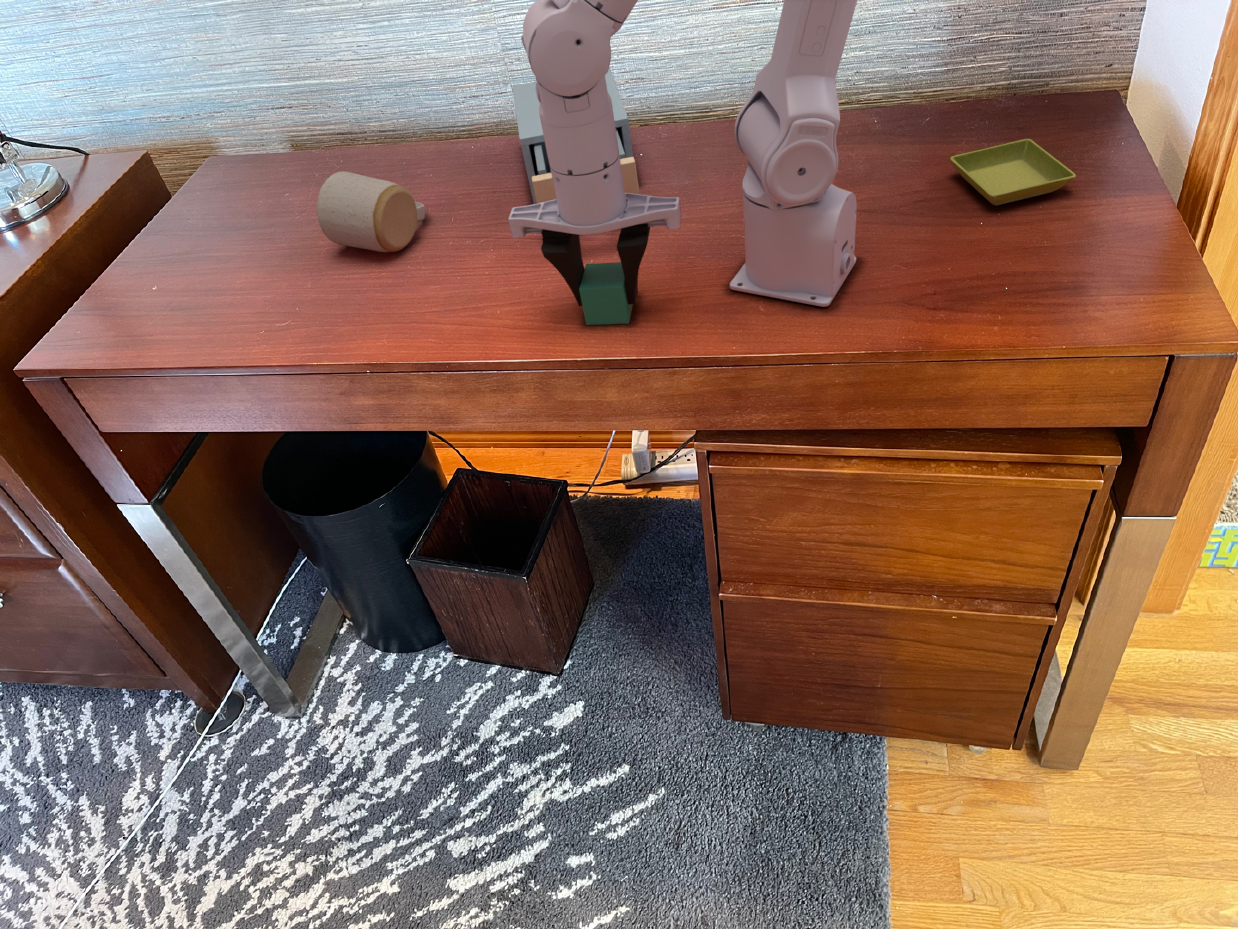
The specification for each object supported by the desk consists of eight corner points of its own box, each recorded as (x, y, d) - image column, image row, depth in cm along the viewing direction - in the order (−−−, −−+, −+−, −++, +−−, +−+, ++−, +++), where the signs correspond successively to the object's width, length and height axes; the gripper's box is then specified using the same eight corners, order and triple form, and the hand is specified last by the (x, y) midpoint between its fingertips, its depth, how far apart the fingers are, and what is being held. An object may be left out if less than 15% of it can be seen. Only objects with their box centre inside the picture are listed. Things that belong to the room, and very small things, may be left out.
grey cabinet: (636, 184, 99) (628, 117, 94) (534, 204, 99) (519, 139, 94) (618, 129, 110) (609, 66, 104) (525, 147, 110) (512, 85, 104)
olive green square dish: (1074, 195, 86) (1078, 175, 85) (988, 215, 86) (991, 195, 84) (1025, 156, 92) (1029, 137, 91) (945, 175, 92) (947, 156, 90)
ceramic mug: (390, 267, 94) (367, 199, 88) (330, 257, 97) (304, 191, 92) (446, 217, 100) (427, 151, 95) (388, 209, 103) (366, 145, 98)
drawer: (649, 235, 90) (642, 182, 86) (547, 255, 90) (535, 203, 86) (623, 156, 103) (616, 106, 98) (534, 174, 102) (523, 125, 98)
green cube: (634, 298, 84) (628, 261, 81) (629, 323, 81) (623, 286, 78) (592, 299, 85) (585, 263, 82) (586, 325, 82) (578, 288, 79)
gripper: (677, 129, 74) (690, 270, 83) (508, 142, 76) (539, 277, 86) (670, 170, 69) (685, 315, 78) (489, 183, 72) (525, 321, 81)
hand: (608, 298), depth 82 cm, fingers closed on green cube, 4 cm apart
